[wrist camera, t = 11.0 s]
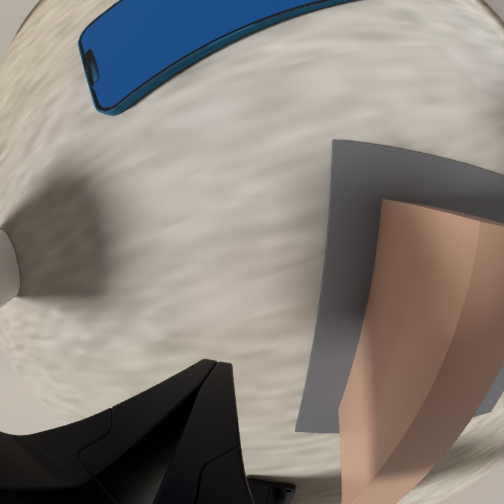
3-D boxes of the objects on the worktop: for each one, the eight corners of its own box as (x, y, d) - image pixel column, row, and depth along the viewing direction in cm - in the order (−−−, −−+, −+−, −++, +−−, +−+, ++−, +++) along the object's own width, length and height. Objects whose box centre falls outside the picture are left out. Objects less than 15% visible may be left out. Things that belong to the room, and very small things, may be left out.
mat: (488, 408, 10) (490, 411, 10) (295, 426, 12) (295, 431, 12) (556, 199, 7) (560, 199, 6) (332, 141, 9) (333, 139, 9)
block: (377, 409, 11) (394, 506, 5) (338, 409, 11) (341, 513, 5) (432, 205, 8) (545, 236, 3) (381, 198, 9) (480, 222, 3)
